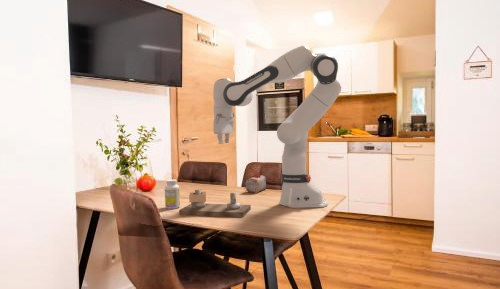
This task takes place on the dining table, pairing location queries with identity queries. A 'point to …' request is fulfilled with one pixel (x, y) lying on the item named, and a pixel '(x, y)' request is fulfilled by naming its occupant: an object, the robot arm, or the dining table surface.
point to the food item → (256, 183)
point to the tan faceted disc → (197, 197)
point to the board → (216, 208)
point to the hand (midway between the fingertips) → (223, 143)
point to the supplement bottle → (172, 195)
